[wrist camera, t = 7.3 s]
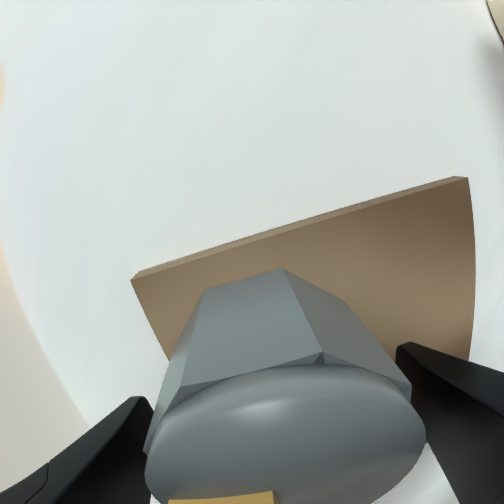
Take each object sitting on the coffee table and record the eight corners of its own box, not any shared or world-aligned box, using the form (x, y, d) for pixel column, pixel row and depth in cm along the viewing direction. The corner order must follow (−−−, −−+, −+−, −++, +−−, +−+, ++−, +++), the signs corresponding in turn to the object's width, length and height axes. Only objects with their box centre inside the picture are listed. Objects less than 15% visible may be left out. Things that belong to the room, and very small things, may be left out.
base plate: (446, 419, 11) (476, 462, 8) (258, 485, 12) (262, 541, 8) (453, 176, 8) (535, 185, 4) (139, 271, 9) (81, 331, 5)
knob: (334, 252, 8) (463, 360, 3) (356, 387, 9) (415, 505, 4) (154, 303, 8) (73, 450, 3) (215, 425, 9) (211, 553, 4)
